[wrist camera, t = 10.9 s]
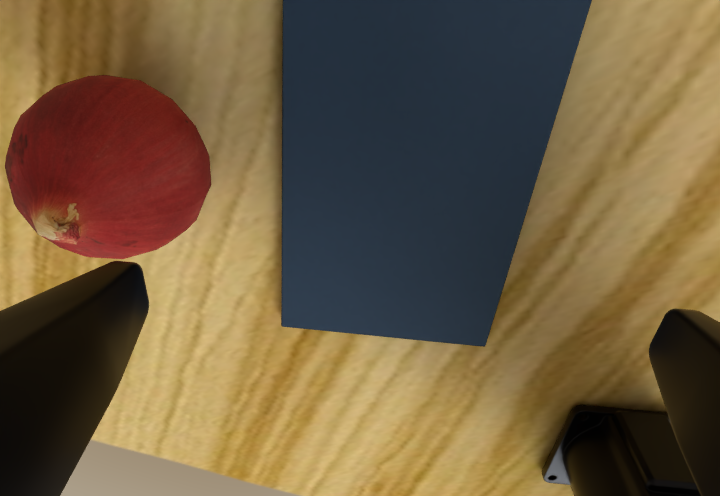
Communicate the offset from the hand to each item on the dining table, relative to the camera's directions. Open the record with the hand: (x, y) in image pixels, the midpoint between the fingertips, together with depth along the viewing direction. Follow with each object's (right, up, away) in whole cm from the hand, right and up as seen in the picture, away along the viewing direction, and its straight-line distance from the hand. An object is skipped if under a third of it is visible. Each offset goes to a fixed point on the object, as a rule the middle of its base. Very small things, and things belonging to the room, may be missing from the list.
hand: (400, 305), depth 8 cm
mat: (+1, +5, +11) cm, 12 cm away
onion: (-9, +6, +11) cm, 15 cm away
